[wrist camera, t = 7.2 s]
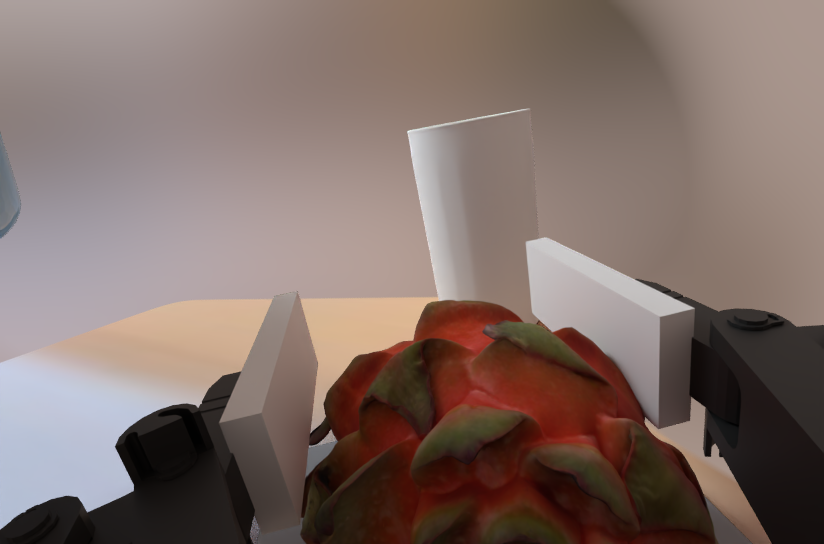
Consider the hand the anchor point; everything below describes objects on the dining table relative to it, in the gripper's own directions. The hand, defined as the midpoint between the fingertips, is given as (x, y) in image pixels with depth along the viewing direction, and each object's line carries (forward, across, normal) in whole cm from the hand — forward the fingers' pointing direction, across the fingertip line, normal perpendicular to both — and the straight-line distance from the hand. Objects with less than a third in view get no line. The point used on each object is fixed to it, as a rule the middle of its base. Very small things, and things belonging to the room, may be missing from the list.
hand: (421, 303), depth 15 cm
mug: (+12, +5, -7) cm, 15 cm away
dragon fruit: (-5, 0, -6) cm, 8 cm away
